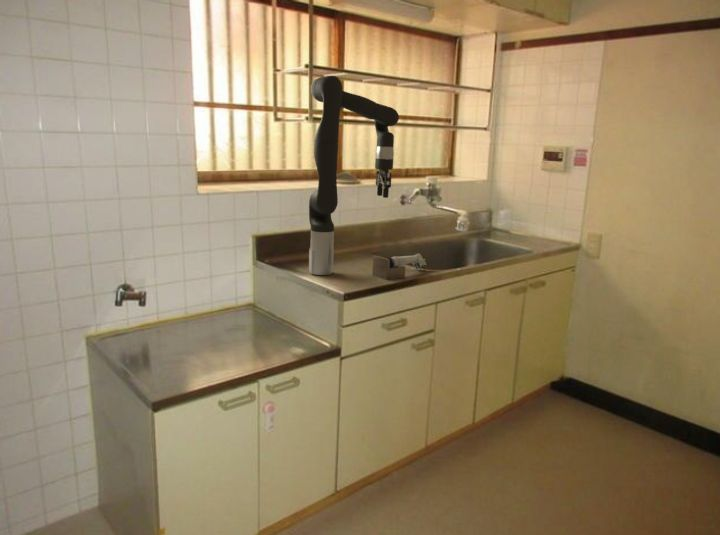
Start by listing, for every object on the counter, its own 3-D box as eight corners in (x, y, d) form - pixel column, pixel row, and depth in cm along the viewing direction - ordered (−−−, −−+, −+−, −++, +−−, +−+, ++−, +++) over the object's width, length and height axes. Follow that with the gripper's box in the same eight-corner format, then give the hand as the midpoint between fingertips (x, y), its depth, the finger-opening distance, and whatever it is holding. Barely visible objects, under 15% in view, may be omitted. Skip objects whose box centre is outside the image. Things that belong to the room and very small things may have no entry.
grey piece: (382, 260, 212) (413, 254, 232) (389, 275, 211) (419, 268, 231) (393, 255, 209) (423, 249, 229) (399, 270, 208) (429, 263, 228)
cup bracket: (386, 280, 208) (387, 259, 207) (372, 274, 216) (373, 255, 214) (404, 277, 214) (405, 258, 212) (390, 272, 221) (391, 253, 219)
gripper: (371, 157, 230) (369, 195, 233) (380, 158, 217) (378, 198, 220) (387, 157, 232) (385, 195, 235) (398, 158, 219) (396, 198, 222)
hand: (382, 196), depth 228 cm, fingers open, 8 cm apart
